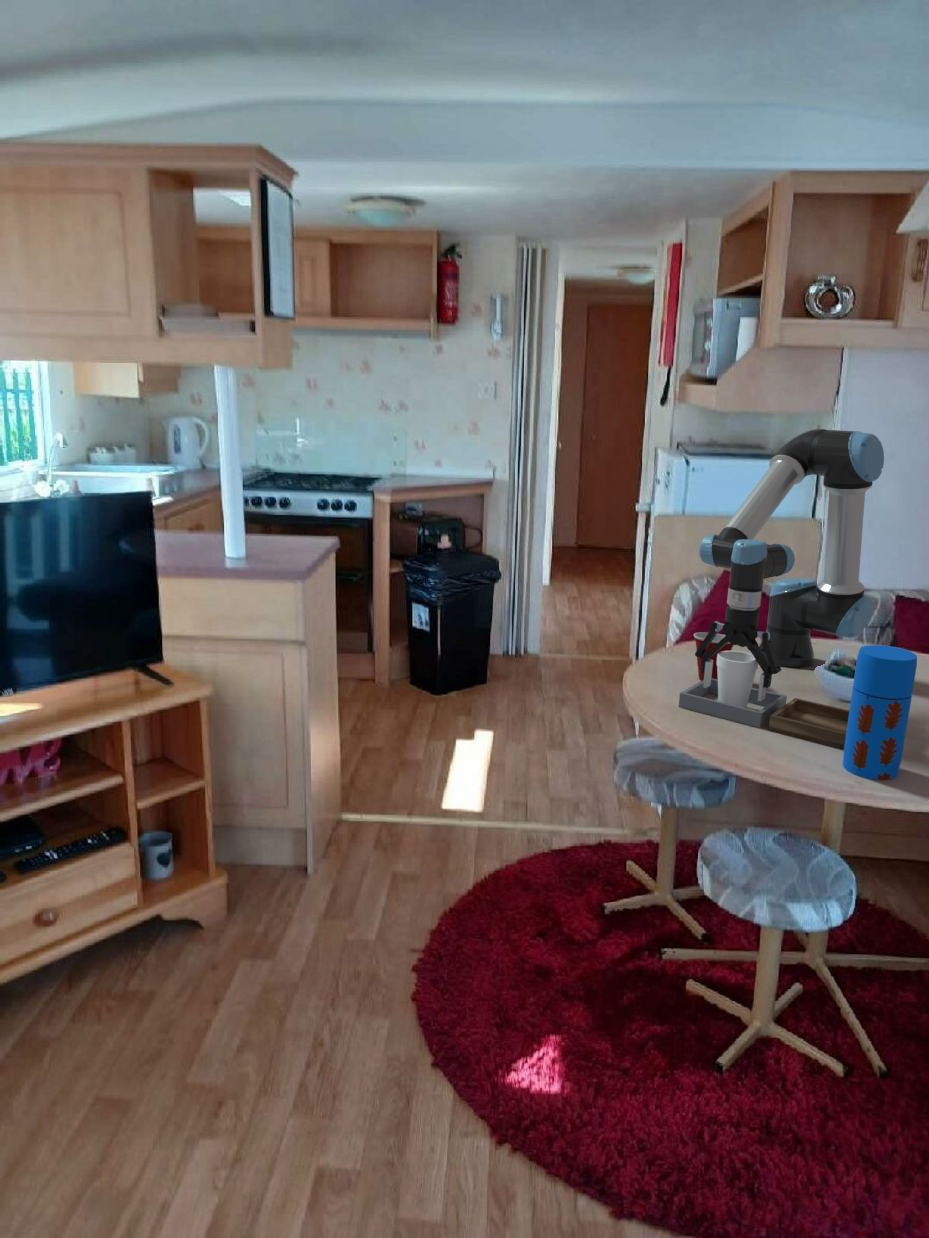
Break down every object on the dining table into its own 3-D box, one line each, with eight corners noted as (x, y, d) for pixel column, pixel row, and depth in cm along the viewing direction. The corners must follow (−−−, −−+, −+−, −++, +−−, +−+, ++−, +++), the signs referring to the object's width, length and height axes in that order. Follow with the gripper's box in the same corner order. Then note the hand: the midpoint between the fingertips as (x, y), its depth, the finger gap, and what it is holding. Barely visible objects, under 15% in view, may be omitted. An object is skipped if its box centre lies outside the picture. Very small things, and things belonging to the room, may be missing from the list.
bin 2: (793, 711, 226) (795, 697, 225) (881, 733, 214) (883, 718, 213) (768, 730, 214) (770, 715, 213) (860, 753, 202) (862, 738, 201)
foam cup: (753, 717, 221) (760, 664, 218) (712, 713, 223) (718, 660, 220) (750, 703, 230) (756, 652, 227) (711, 699, 232) (716, 649, 229)
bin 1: (706, 690, 239) (708, 677, 238) (785, 709, 227) (786, 695, 226) (678, 706, 226) (679, 693, 226) (759, 727, 215) (761, 713, 214)
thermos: (909, 780, 189) (929, 661, 183) (857, 780, 188) (875, 660, 182) (881, 758, 200) (899, 644, 193) (832, 758, 199) (849, 644, 192)
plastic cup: (738, 679, 248) (743, 635, 245) (720, 689, 240) (725, 644, 237) (700, 670, 255) (705, 627, 252) (682, 679, 247) (686, 635, 244)
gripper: (686, 600, 225) (678, 684, 230) (790, 619, 210) (779, 709, 215) (700, 594, 230) (691, 677, 236) (802, 613, 216) (790, 701, 221)
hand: (733, 693), depth 226 cm, fingers open, 13 cm apart
